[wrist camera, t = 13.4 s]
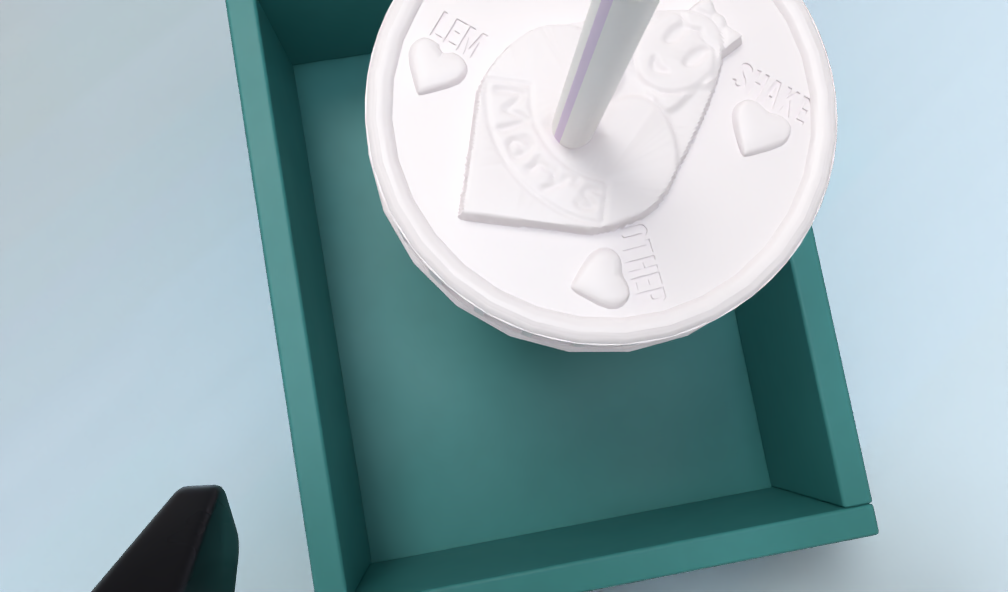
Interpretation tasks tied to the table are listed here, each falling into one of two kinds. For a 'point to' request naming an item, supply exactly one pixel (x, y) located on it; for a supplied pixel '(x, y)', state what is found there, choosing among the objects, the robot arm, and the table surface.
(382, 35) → the smoothie
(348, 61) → the bin
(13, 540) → the table surface
